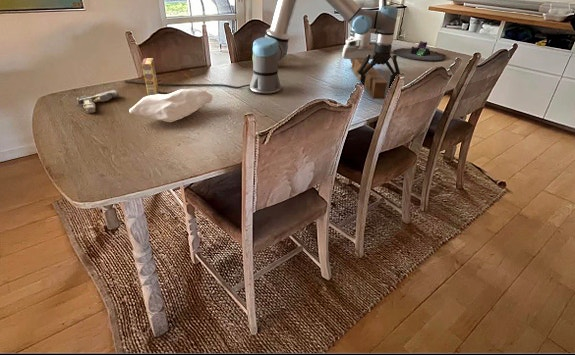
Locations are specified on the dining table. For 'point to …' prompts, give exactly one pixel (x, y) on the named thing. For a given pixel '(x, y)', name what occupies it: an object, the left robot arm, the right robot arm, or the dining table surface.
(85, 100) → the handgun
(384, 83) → the bar
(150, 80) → the candy box
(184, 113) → the crumpled cloth
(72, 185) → the dining table surface
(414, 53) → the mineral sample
